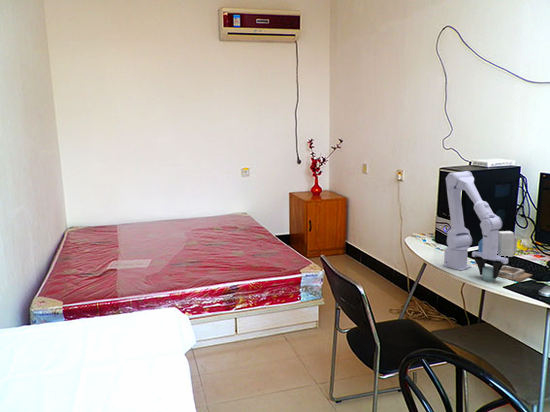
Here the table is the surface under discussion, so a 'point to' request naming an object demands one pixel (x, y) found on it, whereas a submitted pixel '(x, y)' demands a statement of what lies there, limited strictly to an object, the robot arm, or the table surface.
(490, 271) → the light blue cup
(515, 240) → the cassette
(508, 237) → the skincare box
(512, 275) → the collar board
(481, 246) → the perfume bottle
